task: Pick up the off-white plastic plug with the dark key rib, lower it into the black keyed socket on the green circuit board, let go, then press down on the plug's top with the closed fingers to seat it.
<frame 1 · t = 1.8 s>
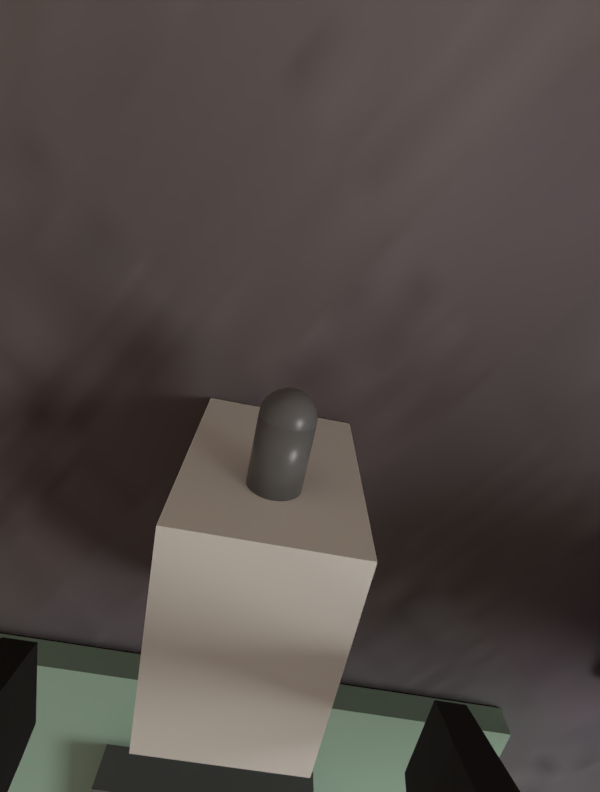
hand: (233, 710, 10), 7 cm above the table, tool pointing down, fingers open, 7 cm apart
plug: (262, 499, 16), on the table
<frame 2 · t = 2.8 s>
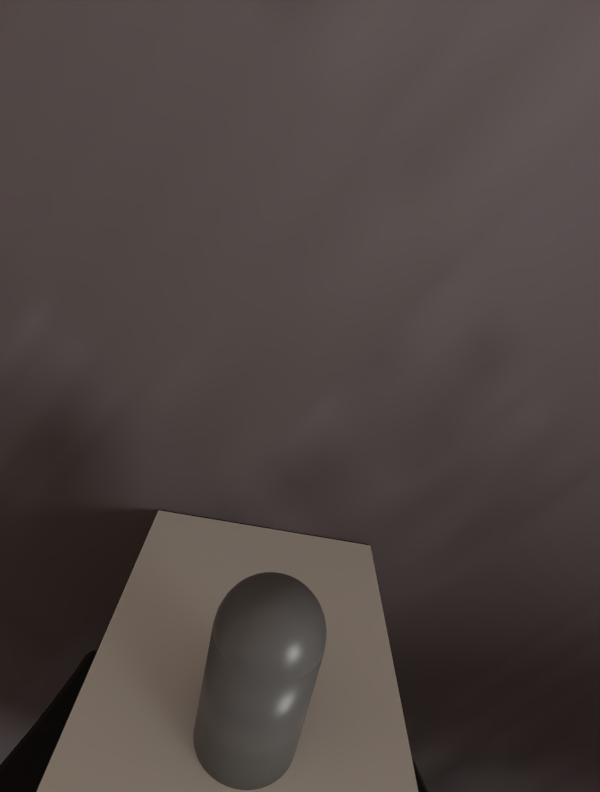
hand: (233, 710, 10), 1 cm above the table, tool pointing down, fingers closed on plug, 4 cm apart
plug: (240, 647, 11), on the table, touching gripper
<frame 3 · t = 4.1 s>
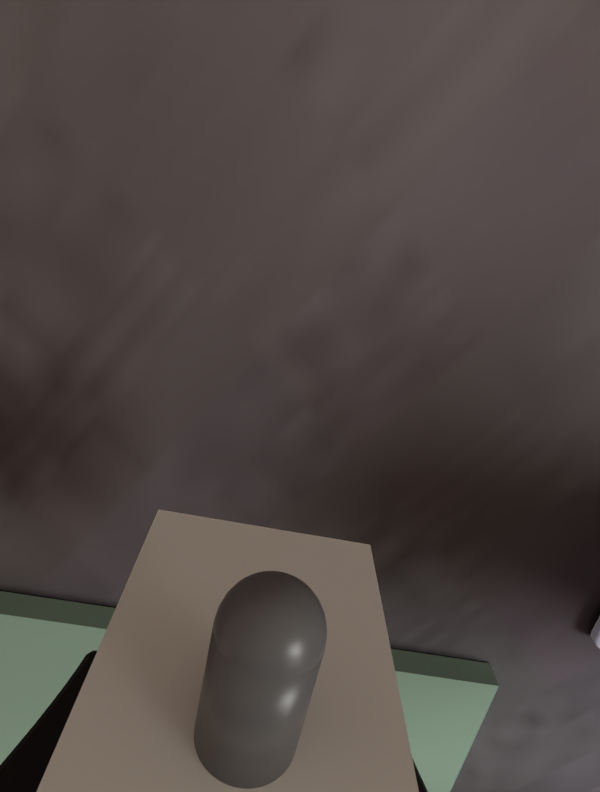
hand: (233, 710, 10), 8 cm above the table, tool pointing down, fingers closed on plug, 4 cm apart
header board: (206, 766, 23), on the table
plug: (240, 646, 11), point 7 cm above the table, touching gripper
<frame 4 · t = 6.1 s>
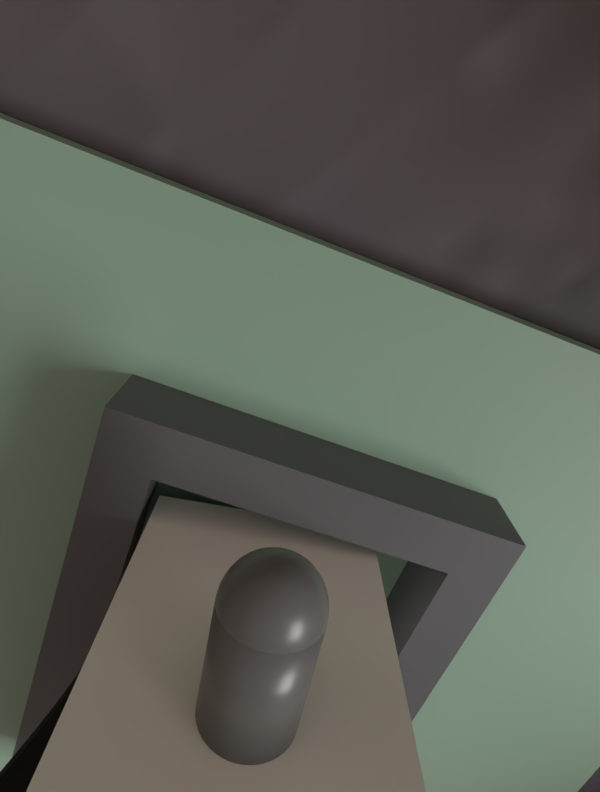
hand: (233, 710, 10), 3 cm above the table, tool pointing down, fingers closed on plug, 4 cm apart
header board: (248, 586, 13), on the table
plug: (241, 634, 11), point 2 cm above the table, touching gripper
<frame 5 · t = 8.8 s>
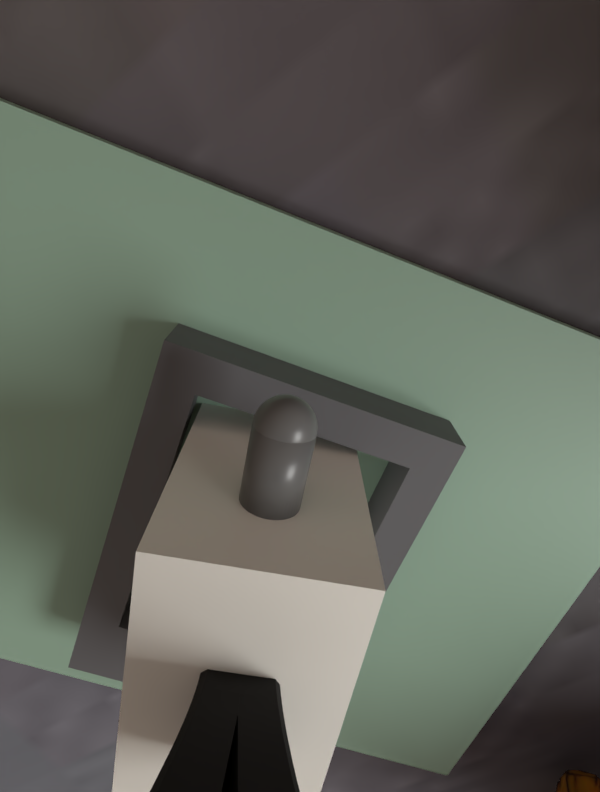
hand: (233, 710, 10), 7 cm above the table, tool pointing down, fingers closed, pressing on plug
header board: (261, 499, 16), on the table
plug: (259, 511, 15), point 1 cm above the table, touching gripper, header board
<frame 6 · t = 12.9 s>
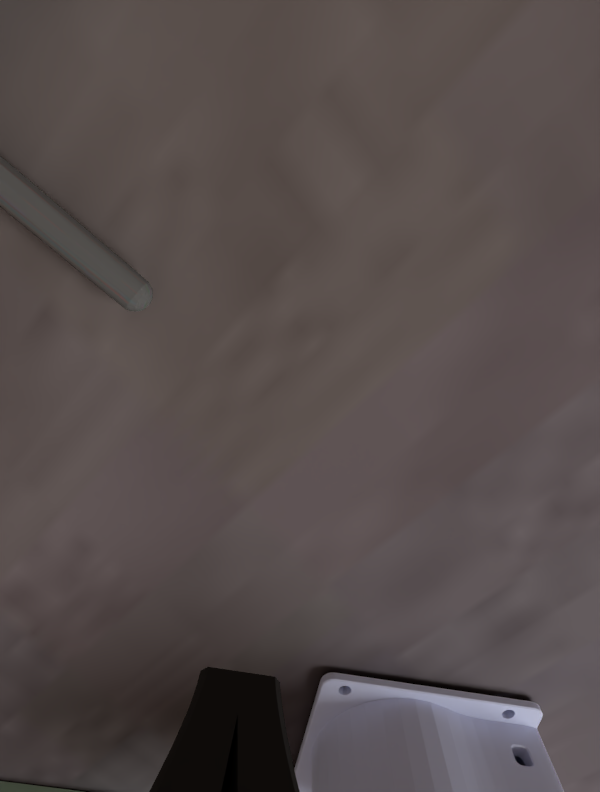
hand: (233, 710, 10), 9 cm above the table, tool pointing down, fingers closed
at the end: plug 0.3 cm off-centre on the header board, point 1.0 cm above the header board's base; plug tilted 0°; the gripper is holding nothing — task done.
